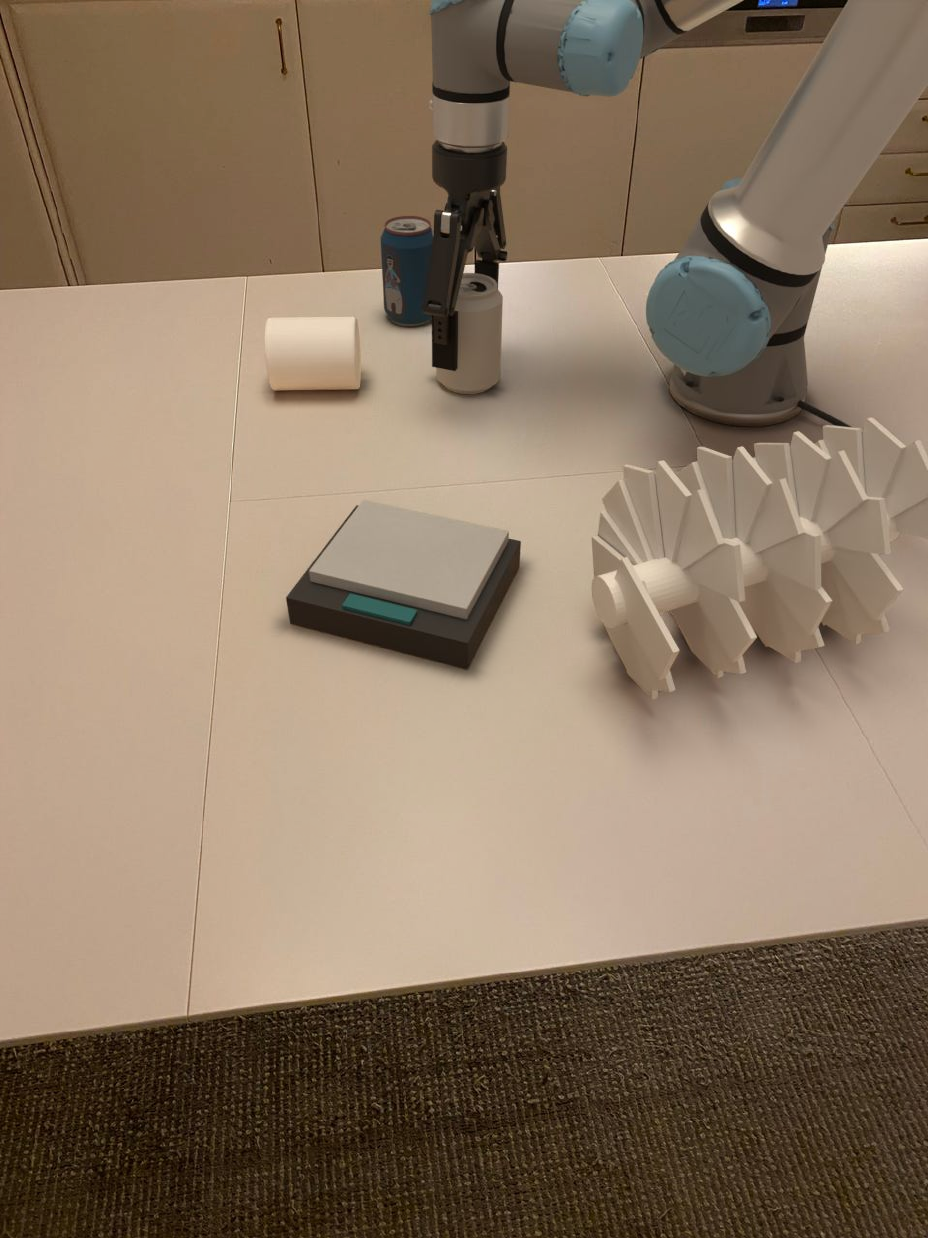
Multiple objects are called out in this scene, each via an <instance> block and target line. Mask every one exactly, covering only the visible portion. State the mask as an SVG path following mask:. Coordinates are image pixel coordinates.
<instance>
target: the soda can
mask: <svg viewBox="0 0 928 1238" xmlns="http://www.w3.org/2000/svg"><path fill="white" fill-rule="evenodd" d="M433 235H434V229H433V228H432V223H431V221H430V220H429V219H427V218H425V217H422V216H418V215H400V216H396V217H395V216H394V217H391V218H389V219H388V220H386V221H385V223H384V229H383V231H382V233H381V235H380V256H381V275H382V277H381V278H382V294H383V295H382V296H383V309H384V312H385V314H386V315H387V316H388V318H389V320H390V322H392V323H394V324H396V325H397V326H402V327H419V326H423V325H425V324H428V323H430V322H431V321H432V315H431V314H425V313H423V309H422V305H423V302H424V296H425V289H426V282H427V276H428V269H429V262H430V255H431V249H432V242H433Z"/></svg>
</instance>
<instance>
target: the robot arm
mask: <svg viewBox="0 0 928 1238" xmlns="http://www.w3.org/2000/svg"><path fill="white" fill-rule="evenodd" d="M743 1H744V0H431V2H430V8H429V15H430V25H431V26H430V27H431V62H432V66H431V68H432V82H431V88H432V89H431V99H429V100H428V103H427V108H428V109H429V110H431V113H432V116H431V122H432V123H431V124H432V126H431V127H432V128H431V129H432V132H431V133H432V137H433V138H434V139H435V140H434V142H433V144H432V145H431V178H432V180H433V182H434V184H435V185H437V186H438V187H440V188H442V189H443V190H445V192H446V193H447V201H446V203H445V205H444V209H443V210H442V209H436V210H435V211H434V214H433V232H434V235H433V242H432V249H431V255H430V262H429V269H428V276H427V282H426V289H425V296H424V302H423V305H422V309H423V313H425V314H431V315H432V319H431V367H432V368H441V369H446V370H451V371H456V370H457V368H458V311H455V307H456V302H457V298H458V294H459V289H460V285H461V281H462V277H463V273H465V268H466V264H467V260H468V255H469V253H470V252H473V251H474V249H475V251H476V254H477V257H478V258H479V259H476V260H475V261H474V272H473V273H478V274H483V275H486V276H489V277H491V278H493V279H494V280H495V281H496V282H497V289H498V290H499V277H500V275H499V273H500V262H504V263H505V262H507V259H508V251H507V250H505V249H506V247H507V236H506V228H505V221H504V213H503V206H502V205H503V204H502V196H501V187H502V186H503V185H504V183H506V180H507V163H508V146H507V145H506V144H505V141H506V140H507V139H508V138H509V128H510V102H511V101H510V100H511V98H510V97H511V83H512V82H513V83H518V84H525V85H530V86H536V87H541V88H547V89H550V90H551V89H552V90H557V91H563V92H567V93H572V94H575V95H579V96H580V97H590V96H597V97H598V96H599V97H606V98H607V97H609V98H610V97H611V98H612V97H617V96H619V95H621V94H622V93H623V92H624V91H625V90H626V89H627V88H628V87H629V84H630V81H631V80H632V79H633V78H634V76H635V74H636V71H637V69H638V66H639V62H640V60H641V59H644V58H645V57H648V56H649V55H652V54H653V53H655V52H657V51H658V50H660V49H661V48H662V47H663V46H665V45H666V44H669V43H670V42H672V41H673V40H676V39H678V38H679V37H681V36H682V35H684V34H685V33H687V32H689V31H691V30H693V29H694V28H696V27H698V26H700V25H701V24H703V23H705V22H707V21H708V20H710V19H712V18H714V17H716V16H718V15H719V14H721V13H723V12H725V11H727V10H729V9H730V8H732V7H734V6H736V5H738V4H740V3H741V2H743ZM927 88H928V0H847V2H846V4H845V5H844V7H843V8H842V10H841V11H840V14H839V15H838V16H837V18H836V20H835V22H834V23H833V25H832V26H831V28H830V30H829V31H828V33H827V34H826V37H825V39H824V41H823V42H822V43H821V45H820V47H819V49H818V50H817V52H816V54H815V55H814V57H813V58H812V60H811V62H810V64H809V65H808V67H807V69H806V71H805V72H804V74H803V76H802V77H801V79H800V81H798V84H797V85H796V87H795V89H794V90H793V93H792V94H791V95H790V97H789V99H788V101H787V103H786V104H785V106H784V108H783V109H782V111H781V112H780V114H779V116H778V118H777V119H776V121H775V122H774V124H773V126H772V127H771V129H770V131H769V133H768V135H767V136H766V138H765V139H764V141H763V143H762V145H761V147H760V148H759V150H758V151H757V153H756V155H755V156H754V158H753V160H752V161H751V163H750V165H749V166H748V168H747V170H746V171H745V173H744V175H743V177H735V178H733V179H730V180H727V181H726V182H724V183H723V184H722V185H721V188H720V190H719V191H718V190H717V191H716V192H714V194H712V196H711V197H710V199H709V201H708V203H707V204H706V206H705V207H704V209H703V211H702V212H701V215H700V216H699V217H698V219H697V221H696V222H695V224H694V226H693V228H692V230H691V232H690V233H689V235H688V237H687V238H686V239H685V242H684V244H683V245H682V246H681V249H680V250H679V252H678V254H676V255H675V258H674V259H673V260H672V261H670V262H668V263H667V264H666V265H664V267H663V268H662V269H660V271H659V272H658V274H657V275H656V277H655V279H654V282H653V283H652V285H651V287H650V289H649V291H648V294H647V297H646V301H645V316H646V317H645V319H646V320H645V321H646V324H647V326H648V328H649V332H650V334H651V339H652V340H653V343H654V344H655V347H656V348H657V349H658V350H659V352H660V353H661V354H662V355H663V356H664V357H665V358H666V359H667V360H668V361H670V362H671V363H672V364H673V367H672V369H671V373H670V378H669V380H670V381H669V392H670V394H671V396H672V398H673V399H674V400H675V402H676V403H677V404H679V405H680V406H681V407H682V408H683V409H684V410H687V411H688V412H689V413H692V414H693V415H695V416H698V417H700V418H703V419H706V420H709V421H711V422H716V423H720V424H724V425H729V426H736V427H737V426H738V427H762V426H763V427H765V426H772V425H775V424H779V423H783V422H786V421H788V420H791V419H792V418H794V417H796V416H797V415H798V414H799V413H800V412H801V411H802V410H803V411H806V412H807V413H810V414H811V415H813V416H815V417H817V418H819V419H821V420H824V421H825V422H828V423H829V424H831V425H832V426H842V427H852V428H854V427H853V426H851V425H849V424H848V423H846V422H845V421H842V420H841V419H838V418H836V417H835V416H832V415H831V414H829V413H827V412H825V411H823V410H821V409H819V408H817V407H816V406H813V405H810V404H809V403H807V402H805V401H806V398H807V394H808V385H809V381H808V371H807V369H808V368H807V359H806V348H805V347H806V346H805V345H806V344H805V334H806V330H807V326H808V323H809V321H810V315H811V311H812V308H813V304H814V300H815V296H816V292H817V289H818V284H819V280H820V277H821V274H822V273H821V272H822V269H823V266H824V265H825V262H826V254H827V250H828V246H829V243H830V238H831V234H832V232H833V231H834V230H835V227H836V225H835V219H836V218H837V216H838V214H839V213H840V212H841V210H842V209H843V207H844V206H845V204H846V203H847V201H849V200H850V197H851V196H852V194H853V193H854V192H855V191H856V189H857V188H858V186H859V185H860V183H861V181H862V180H863V179H864V178H865V176H866V175H867V173H868V171H870V169H871V168H872V166H873V164H874V163H875V162H876V161H877V159H878V157H879V156H880V155H881V153H882V152H883V151H884V149H885V148H886V146H887V145H888V143H889V142H890V140H891V139H892V137H894V134H895V133H896V132H897V131H898V129H899V128H900V126H901V125H902V123H903V122H904V120H905V119H906V117H907V116H908V114H909V113H910V111H911V110H912V109H913V107H914V106H915V104H916V103H917V102H918V101H919V99H920V97H921V96H922V95H923V93H924V92H925V90H926V89H927ZM498 261H499V262H498Z"/></svg>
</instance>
